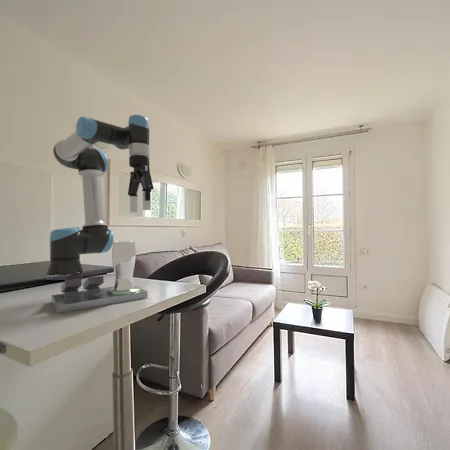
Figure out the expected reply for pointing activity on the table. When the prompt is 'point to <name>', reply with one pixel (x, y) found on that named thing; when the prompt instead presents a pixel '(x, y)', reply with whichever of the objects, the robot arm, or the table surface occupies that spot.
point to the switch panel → (94, 298)
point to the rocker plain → (93, 282)
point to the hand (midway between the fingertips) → (139, 211)
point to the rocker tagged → (71, 285)
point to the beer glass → (123, 265)
